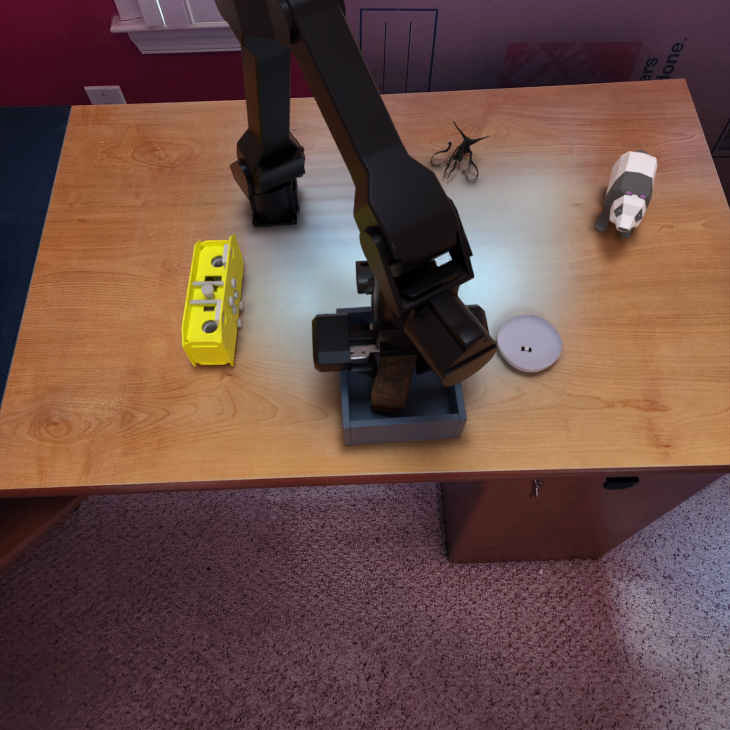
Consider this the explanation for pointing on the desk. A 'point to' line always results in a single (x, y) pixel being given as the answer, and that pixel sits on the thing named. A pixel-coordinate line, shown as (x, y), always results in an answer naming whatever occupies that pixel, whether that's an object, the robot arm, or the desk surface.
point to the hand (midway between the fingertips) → (396, 372)
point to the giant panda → (628, 192)
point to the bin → (421, 412)
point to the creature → (460, 152)
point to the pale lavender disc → (529, 343)
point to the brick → (392, 383)
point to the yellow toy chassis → (213, 302)
